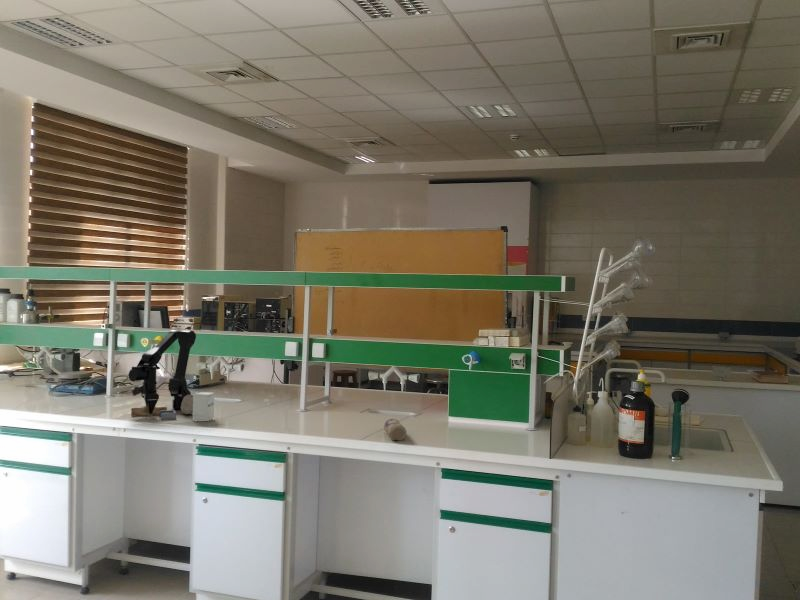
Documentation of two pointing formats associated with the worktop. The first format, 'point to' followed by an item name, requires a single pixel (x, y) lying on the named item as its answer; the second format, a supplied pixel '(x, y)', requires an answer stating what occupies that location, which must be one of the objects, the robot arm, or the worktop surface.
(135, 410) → the walnut rail
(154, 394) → the robot arm
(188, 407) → the pumice stone
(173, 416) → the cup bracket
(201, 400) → the supplement box
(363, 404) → the worktop surface
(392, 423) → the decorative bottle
